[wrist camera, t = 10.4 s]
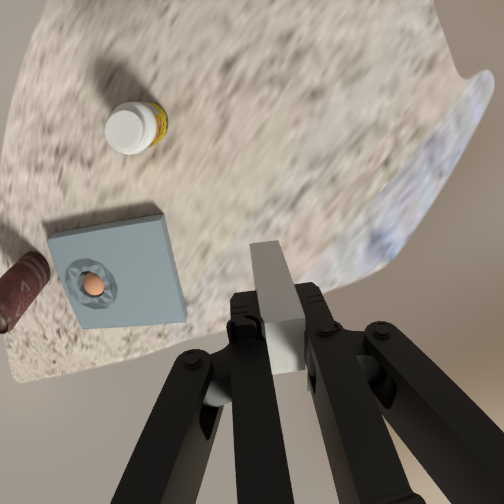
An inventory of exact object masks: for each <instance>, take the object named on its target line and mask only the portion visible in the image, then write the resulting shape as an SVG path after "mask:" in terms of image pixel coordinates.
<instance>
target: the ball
mask: <svg viewBox="0 0 504 504" xmlns="http://www.w3.org/2000/svg"><path fill="white" fill-rule="evenodd" d="M83 286H84V288H85V290H86V291H87V292H88V293H89V294H91V295H99V294H101V293H102V292H103V291H104V290H105V286H104V283H103V280H102V279H101V278H100V277H99V276H98V275H97V274H95V273H93V272H88V273H87V274H86V275H85V277H84V280H83Z"/></svg>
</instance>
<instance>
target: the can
mask: <svg viewBox="0 0 504 504" xmlns="http://www.w3.org/2000/svg"><path fill="white" fill-rule="evenodd" d="M49 279H50V268H49V265H48V263H47V261H46V260H45V259H44V258H43V257H42V256H41V255H39V254H38V253H34V252H28V253H26V254H25V255H23V256H22V257H21V258H20V259H19V260H18V261H17V262H16V263H15V264H14V265H13V266H12V267H11V268H10V269H9V270H8V271H7V272H6V273H5V274H4V275H3V276H2V277H1V278H0V334H5V333H6V332H9V331H11V330H12V329H13V327H14V326H15V325H16V323H17V322H18V320H19V319H20V318H21V316H22V315H23V314H24V312H25V311H26V310H27V308H28V307H29V306H30V304H31V303H32V302H33V300H34V299H35V298H36V297H37V295H38V294H39V293H40V292H41V290H42V289H43V288H44V286H45V285H46V284H47V283H48V281H49Z"/></svg>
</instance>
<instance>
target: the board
mask: <svg viewBox="0 0 504 504" xmlns="http://www.w3.org/2000/svg"><path fill="white" fill-rule="evenodd" d="M46 241H47V244H48V247H49V250H50V253H51V255H52V258H53V261H54V264H55V266H56V269H57V272H58V274H59V277H60V279H61V282H62V284H63V287H64V289H65V292H66V294H67V296H68V299H69V301H70V303H71V306H72V308H73V310H74V312H75V315H76V317H77V319H78V321H79V323H80V325H81V327H82V329H97V328H116V327H131V326H145V325H158V324H170V323H181V322H186V319H187V308H186V304H185V301H184V297H183V293H182V289H181V285H180V281H179V277H178V273H177V269H176V265H175V260H174V256H173V252H172V247H171V243H170V239H169V234H168V229H167V225H166V220H165V215H164V214H158V215H152V216H146V217H139V218H133V219H127V220H122V221H116V222H110V223H104V224H99V225H93V226H88V227H83V228H77V229H72V230H67V231H62V232H57V233H53V234H52V235H51V236H50V237H49V238H48V239H47V240H46ZM84 271H90V272H93V273H95V274H97V275H98V276H99V277H100V278H101V279H102V280H103V283H104V286H105V290H104V291H103V292H102V293H101V294H99V295H91V294H89V293H88V292H87V291H86V290H85V288H84V286H83V280H84V277H83V275H82V274H83V272H84Z"/></svg>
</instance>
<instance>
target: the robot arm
mask: <svg viewBox="0 0 504 504" xmlns="http://www.w3.org/2000/svg"><path fill="white" fill-rule="evenodd" d="M250 251H251V259H252V268H253V276H254V285H255V291H247V292H239V293H234V295H233V296H232V298H231V300H230V312H231V319H230V320H229V321H228V322H227V326H226V328H227V333H228V338H229V344H228V345H227V346H226V347H225V348H224V349H222V350H220V351H218V352H215V353H213V354H210V355H209V353H207V352H206V351H204V350H200V349H192V350H188V351H185V352H183V353H182V354H180V355H179V356H178V357H177V359H176V360H175V362H174V364H173V367H172V369H171V371H170V373H169V375H168V377H167V379H166V381H165V384H164V386H163V388H162V390H161V392H160V394H159V397H158V399H157V401H156V403H155V405H154V407H153V409H152V412H151V414H150V416H149V418H148V420H147V422H146V425H145V427H144V429H143V431H142V433H141V436H140V438H139V440H138V442H137V444H136V447H135V449H134V451H133V453H132V455H131V458H130V460H129V462H128V464H127V467H126V469H125V471H124V473H123V476H122V478H121V480H120V482H119V485H118V487H117V489H116V492H115V494H114V496H113V498H112V501H111V503H110V504H195V503H196V499H197V496H198V493H199V489H200V486H201V482H202V479H203V476H204V473H205V469H206V466H207V462H208V459H209V456H210V452H211V449H212V445H213V442H214V439H215V435H216V432H217V428H218V425H219V421H220V418H221V414H222V411H223V407H224V404H227V403H229V402H232V414H233V433H234V453H235V469H236V470H235V471H236V486H237V501H238V504H294V499H293V493H292V488H291V481H290V475H289V469H288V464H287V459H286V452H285V446H284V440H283V434H282V429H281V423H280V417H279V411H278V405H277V400H276V393H275V388H274V382H273V376H272V375H273V374H279V373H286V372H293V371H299V370H305V362H306V366H307V369H308V382H307V391H310V390H311V394H312V398H313V402H314V405H315V409H316V413H317V417H318V420H319V424H320V428H321V432H322V436H323V440H324V444H325V448H326V452H327V456H328V459H329V463H330V467H331V471H332V475H333V479H334V483H335V487H336V492H337V496H338V500H339V503H340V504H426V503H425V501H424V499H423V498H422V497H421V496H420V495H418V494H416V493H414V492H413V491H412V489H411V487H410V485H409V482H408V480H407V477H406V475H405V472H404V469H403V467H402V464H401V461H400V459H399V457H398V454H397V451H396V449H395V446H394V444H393V441H392V439H391V436H390V434H389V432H388V429H387V426H386V424H385V422H384V419H383V417H384V418H385V419H386V420H387V422H388V423H389V424H390V426H391V427H392V428H393V429H394V431H395V432H396V433H397V434H398V436H399V437H400V438H401V440H402V441H403V442H404V443H405V445H406V446H407V447H408V449H409V450H410V451H411V452H412V454H413V455H414V456H415V457H416V459H417V460H418V461H419V463H420V464H421V465H422V466H423V468H424V469H425V470H426V472H427V473H428V474H429V475H430V477H431V478H432V479H433V481H434V482H435V483H436V485H437V486H438V487H439V488H440V490H441V491H442V492H443V493H444V494H445V496H446V497H447V499H448V500H449V501H450V503H451V504H504V432H503V431H502V430H501V429H500V428H499V427H498V426H497V425H496V424H495V423H494V422H493V421H492V420H491V419H490V418H489V417H488V416H487V415H486V414H485V413H484V412H483V411H482V410H481V409H480V408H479V407H478V406H477V405H476V404H475V403H474V402H473V401H472V400H471V399H470V398H469V396H467V394H466V393H464V392H463V391H462V390H461V389H460V388H459V387H458V386H457V385H456V384H455V383H454V382H453V381H452V380H451V379H450V378H449V377H448V376H447V375H446V374H445V373H444V372H443V371H442V370H441V369H440V368H439V367H438V366H437V365H436V364H435V363H434V362H433V361H432V360H431V359H430V358H429V357H428V356H427V355H425V354H424V353H423V352H422V351H421V350H420V349H419V348H418V347H417V346H416V345H415V344H414V343H413V342H412V341H411V340H410V339H408V338H407V337H406V336H405V335H404V334H403V333H402V332H401V331H400V330H399V329H398V328H397V327H395V326H394V325H393V324H391V323H388V322H385V321H377V322H373V323H371V324H369V325H368V326H367V327H366V329H365V331H350V330H346V329H343V327H342V326H341V325H340V323H338V322H336V321H334V319H333V317H332V315H331V312H330V310H329V308H328V306H327V304H326V302H325V299H324V297H323V296H322V293H321V291H320V289H319V287H318V286H316V285H315V284H314V283H312V282H308V283H301V284H294V283H293V280H292V278H291V275H290V272H289V269H288V266H287V264H286V261H285V258H284V255H283V252H282V250H281V247H280V244H279V241H278V240H276V241H268V242H260V243H252V244H250ZM382 415H383V417H382Z"/></svg>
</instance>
